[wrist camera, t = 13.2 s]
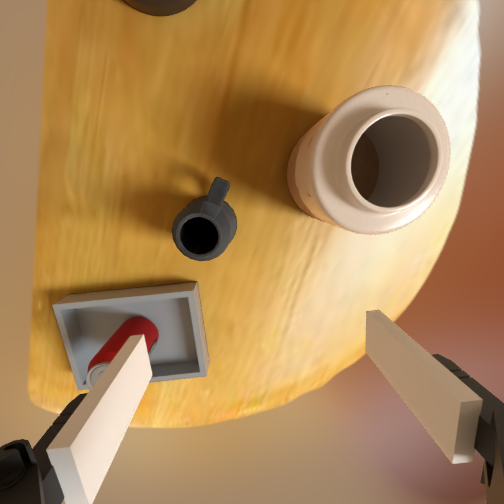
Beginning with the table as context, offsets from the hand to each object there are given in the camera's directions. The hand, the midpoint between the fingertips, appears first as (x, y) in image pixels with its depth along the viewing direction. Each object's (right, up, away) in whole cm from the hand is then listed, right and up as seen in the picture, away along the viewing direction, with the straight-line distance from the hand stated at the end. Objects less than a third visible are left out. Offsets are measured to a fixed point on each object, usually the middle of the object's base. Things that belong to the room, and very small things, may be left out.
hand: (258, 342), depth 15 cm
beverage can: (-20, -9, +30) cm, 37 cm away
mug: (-7, +11, +27) cm, 30 cm away
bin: (-20, -9, +31) cm, 38 cm away
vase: (+13, +18, +26) cm, 34 cm away
